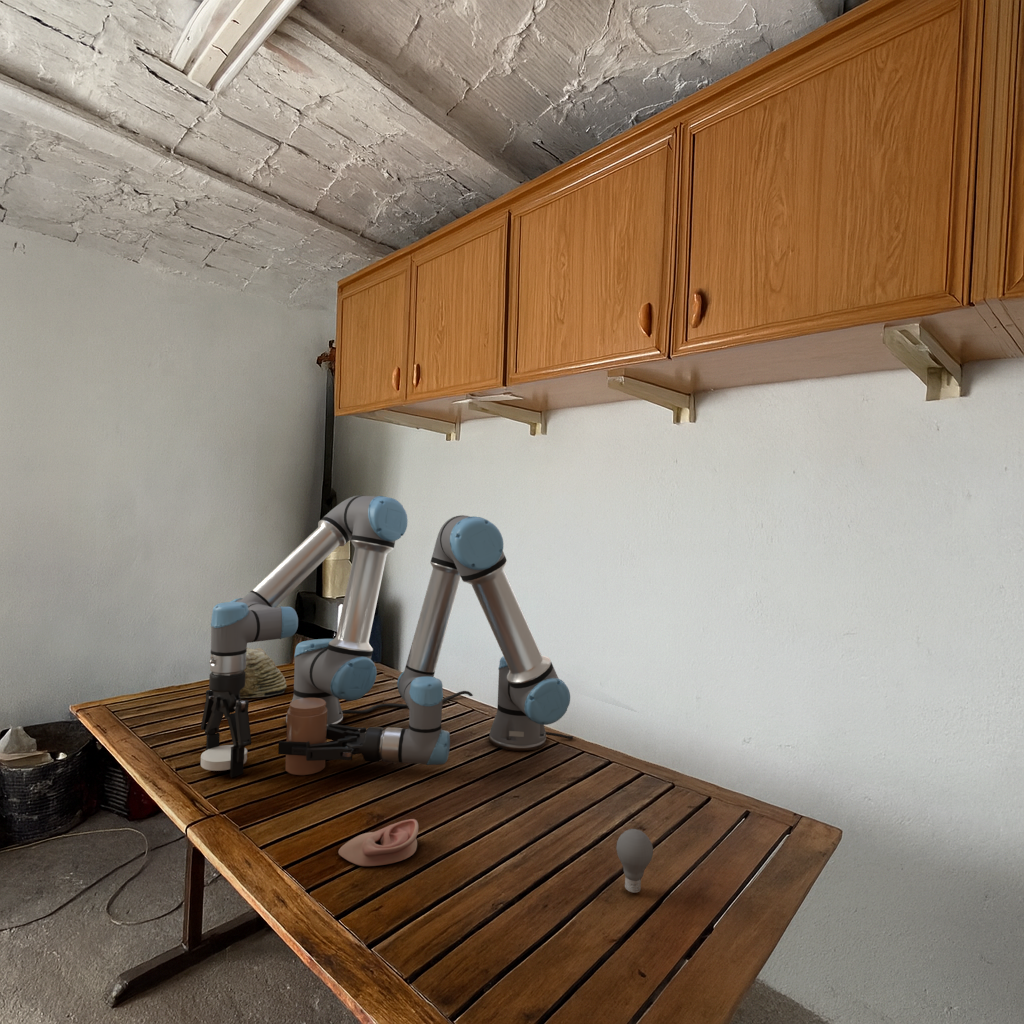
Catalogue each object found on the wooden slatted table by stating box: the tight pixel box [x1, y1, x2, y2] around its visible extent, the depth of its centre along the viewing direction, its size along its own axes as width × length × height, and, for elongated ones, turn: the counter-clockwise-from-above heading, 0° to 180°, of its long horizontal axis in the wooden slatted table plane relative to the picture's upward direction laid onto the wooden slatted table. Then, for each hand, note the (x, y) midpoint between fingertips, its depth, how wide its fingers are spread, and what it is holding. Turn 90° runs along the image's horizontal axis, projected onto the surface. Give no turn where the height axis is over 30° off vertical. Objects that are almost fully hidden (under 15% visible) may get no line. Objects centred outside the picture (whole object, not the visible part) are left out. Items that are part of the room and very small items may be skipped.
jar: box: [284, 698, 328, 776], centre depth 148 cm, size 9×9×15 cm
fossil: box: [240, 647, 288, 699], centre depth 198 cm, size 9×18×15 cm, turn 132°
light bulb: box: [615, 828, 654, 894], centre depth 106 cm, size 6×6×10 cm
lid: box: [200, 744, 248, 772], centre depth 144 cm, size 10×10×2 cm
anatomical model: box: [337, 818, 419, 867], centre depth 114 cm, size 13×4×12 cm
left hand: (224, 768), depth 144 cm, fingers closed on lid, 10 cm apart
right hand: (287, 739), depth 148 cm, fingers closed on jar, 9 cm apart
